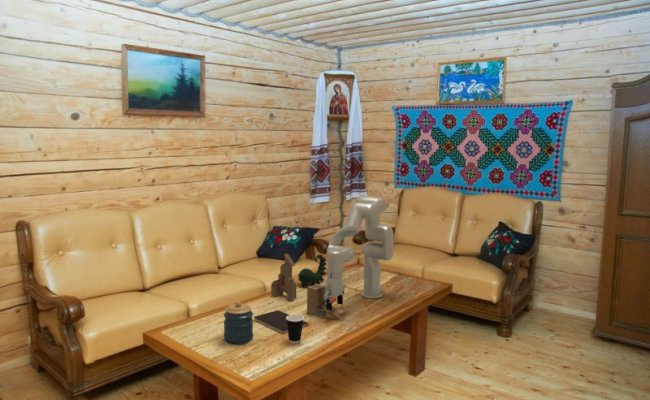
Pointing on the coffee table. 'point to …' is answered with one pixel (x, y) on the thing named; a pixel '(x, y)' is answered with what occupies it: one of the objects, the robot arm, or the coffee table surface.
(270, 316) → the hardcover book
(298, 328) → the dixie cup
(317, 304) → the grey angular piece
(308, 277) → the toy figurine
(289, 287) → the wooden toy
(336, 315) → the bed rail
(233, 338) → the canister
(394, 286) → the coffee table surface
